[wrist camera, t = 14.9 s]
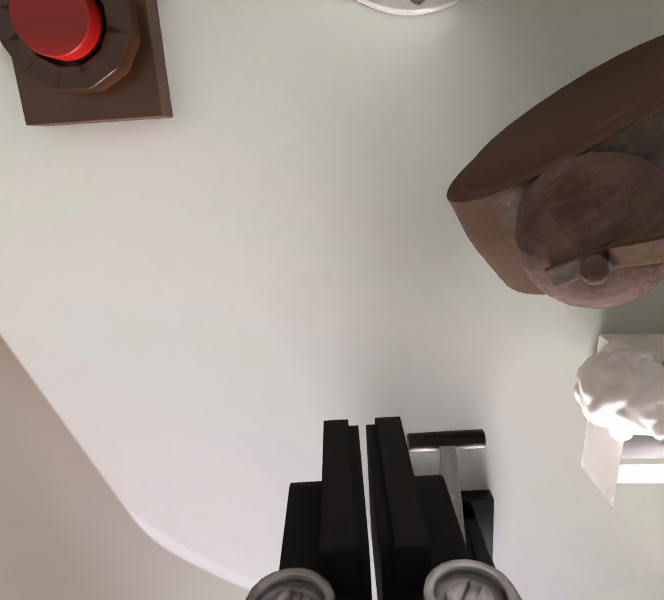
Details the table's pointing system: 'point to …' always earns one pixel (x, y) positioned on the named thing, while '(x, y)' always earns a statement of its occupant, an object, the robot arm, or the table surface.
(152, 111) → the button block
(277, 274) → the table surface
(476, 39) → the table surface
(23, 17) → the button
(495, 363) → the table surface
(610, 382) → the white figurine
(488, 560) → the bracket
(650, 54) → the brown rounded piece
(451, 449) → the lever
